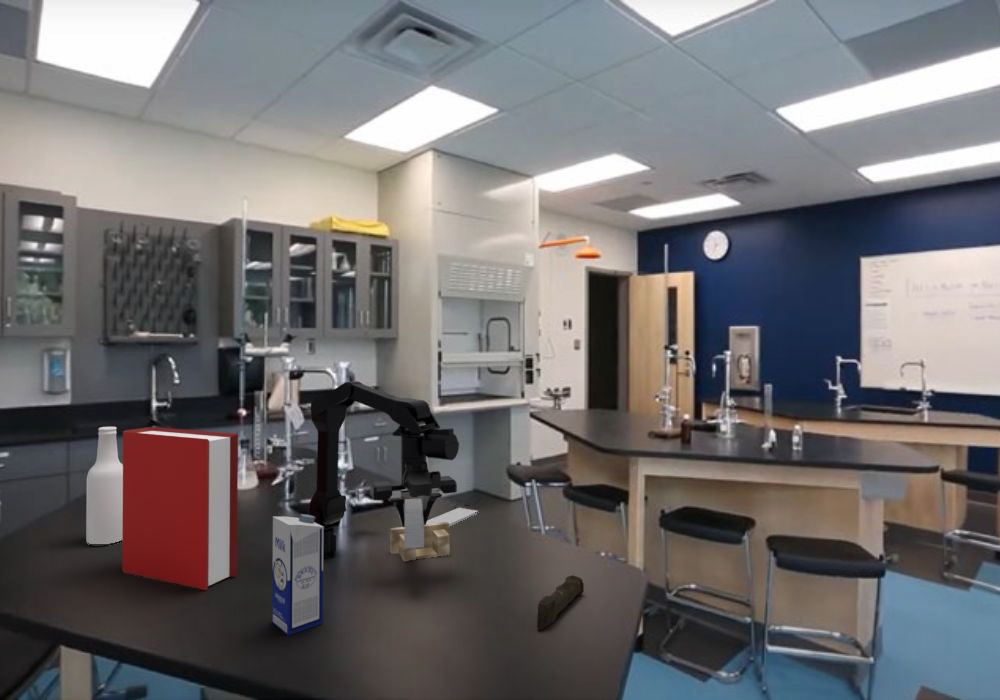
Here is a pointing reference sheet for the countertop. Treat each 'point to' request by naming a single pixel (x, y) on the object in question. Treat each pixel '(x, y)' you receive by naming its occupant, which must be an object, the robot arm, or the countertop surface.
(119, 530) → the alcohol
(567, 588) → the dark brown lumpy bar
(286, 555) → the milk carton
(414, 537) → the rail
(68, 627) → the countertop surface
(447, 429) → the robot arm
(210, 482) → the book
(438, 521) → the baseboard
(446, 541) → the beige studded block
